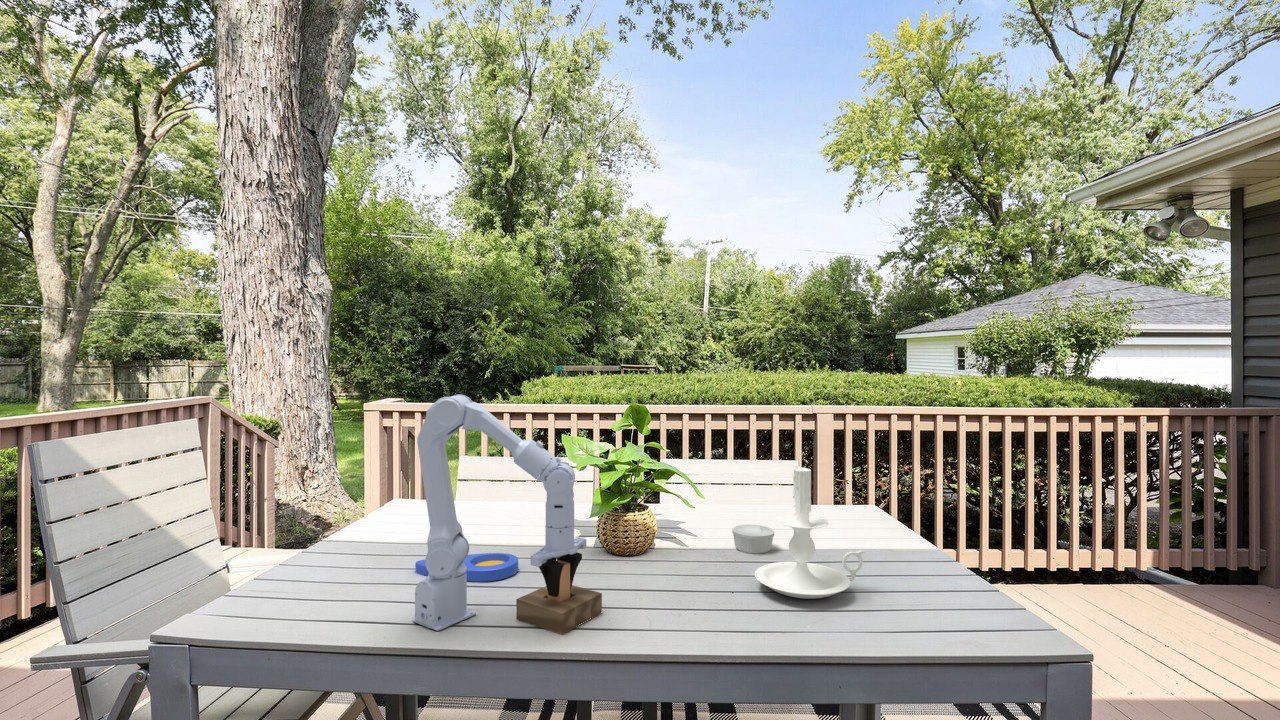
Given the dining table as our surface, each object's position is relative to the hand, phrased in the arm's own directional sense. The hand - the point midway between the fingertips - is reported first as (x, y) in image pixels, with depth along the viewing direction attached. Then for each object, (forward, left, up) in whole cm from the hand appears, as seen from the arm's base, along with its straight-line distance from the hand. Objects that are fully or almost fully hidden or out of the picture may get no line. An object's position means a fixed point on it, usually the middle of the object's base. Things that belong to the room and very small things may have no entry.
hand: (559, 592), depth 122 cm
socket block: (0, 0, -5) cm, 5 cm away
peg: (0, 0, -2) cm, 2 cm away
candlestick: (+42, -37, -5) cm, 56 cm away
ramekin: (+63, -14, -5) cm, 65 cm away
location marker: (+7, +36, -5) cm, 37 cm away
